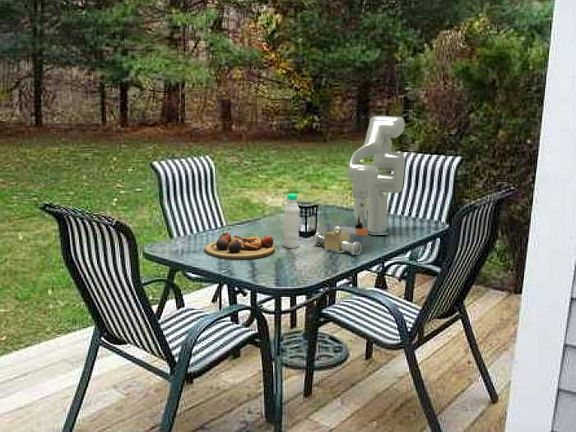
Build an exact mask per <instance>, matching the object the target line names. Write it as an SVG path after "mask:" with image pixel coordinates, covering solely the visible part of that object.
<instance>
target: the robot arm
mask: <svg viewBox="0 0 576 432" xmlns="http://www.w3.org/2000/svg"><path fill="white" fill-rule="evenodd" d="M405 125H406V124H405V119H404V118H403V117H402V116H392V115H391V116H387V115H374V116H371V118H370V119H369V124H368V127H367V132H366V135H365V138H364V139H365V140H364V143H363V145H362V146H361V147H359V148H358V149H357V150H355V152H354V153H353V154H352V155H351V157H350V160H349V164H348V167H347V176H348V179H349V180H352V195H351V197H352V198H353V201H354V203H353V217H354V218H355V225H354V228H364V220H365V221H367V225H366V228H368V231H371V232H383V231H386V229H387V230H388V229H390V228H392V227H391V224H387V218H388V216H387V215H388V198H387V196H386V194H385V193H391V194H399V193H401V191H402V190H403V187H404V186H403V185H404V177H405V176H404V175H405V166H406V160H405V159H406V158H405V156H404V154H403V153H401V152H395V151H392V144H393V143H392V140H391V139H396V138H398V137H399V136H400V135H402V134H403V132H404V130H405ZM372 156H373V160H372V165H371V164H362V163H361V164H360V163H359V162H360V161H361V160H363V159H365V158H368V157H372ZM380 171H385V172H380ZM388 172H393V173H388Z"/></svg>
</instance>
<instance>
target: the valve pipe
mask: <svg viewBox="0 0 576 432" xmlns="http://www.w3.org/2000/svg"><path fill="white" fill-rule="evenodd" d="M350 237H351V233H344V232H341V233H335V232H334V230H332V231H327V232H324V233H323V232H321V231H317V232H316V233H315V234H314V235H313V238H312V241H313V244H314V245H315V244H316V246H318V244H321V245H323V247H324V248H327V249H332V250H336V251H342V250H344V251H347V252H349V253H350V255H352V254H356V253H359V252H360V253H361V252H362V249H363V248H362V243H361V242H360V241H354V242H351V241H350V240H351V239H350ZM324 248H323V249H324Z"/></svg>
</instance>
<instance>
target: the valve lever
mask: <svg viewBox="0 0 576 432" xmlns="http://www.w3.org/2000/svg"><path fill="white" fill-rule="evenodd" d="M333 231H334V232H335V233H341V232H343V233H347V234H355V236H364V237H365V236H366V237H367V236H369V235H368V228H367V227H363V228H355V227H347V226H346V227H344V226H341V225H333Z"/></svg>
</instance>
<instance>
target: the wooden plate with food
mask: <svg viewBox="0 0 576 432" xmlns="http://www.w3.org/2000/svg"><path fill="white" fill-rule="evenodd" d="M275 250H276V246H275V245H274V239H273V237H272V236H271V235H266V236H264V237H263V238H262V239H261V238H260V237H258V236H250V237H242V236H239V235H234V237H231V234H230V233H228V231H226V232H222V233H221V235H220V236H219V238H218V239H217V240H215V241H212V242H210V243H208V244H207V245H205V246H204V252H205V253H206V254H207V255H208V254H209V256H210V255H211V257H213V256H214V257H213V258H218V259H222V258H223V260H236V261H237V260H239V261H240V260H253V259H259V258H264V257H267V256H270V255H271V254H273V253H274V252H275Z"/></svg>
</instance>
